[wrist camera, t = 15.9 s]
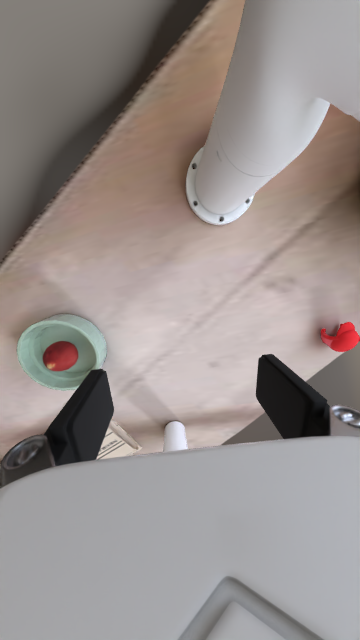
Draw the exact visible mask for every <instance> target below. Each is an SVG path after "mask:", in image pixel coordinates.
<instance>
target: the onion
mask: <svg viewBox="0 0 360 640" xmlns="http://www.w3.org/2000/svg"><path fill="white" fill-rule="evenodd" d="M77 360H78V350H77V348H76V346H75V345H74V344H72V343H70V342H67V341H58V342H55V343H53V344H51V345H50V346H48V347H47V348H46V350H45V352H44V354H43V363H44V365H45V366H46V368H48V369H49V370H52V371H64V370H68V369H69V368H71V367H72V366H73V365H75V363H76V362H77Z"/></svg>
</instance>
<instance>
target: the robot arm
mask: <svg viewBox="0 0 360 640" xmlns="http://www.w3.org/2000/svg"><path fill="white" fill-rule="evenodd" d="M330 103H331V104H333V105H334V106H336V107H337V108H338V109H340V110H341V111H342V112H344V113H345V114H347V115H351V116H353V117H354V118H356V119H357V120H358V121H360V0H245V4H244V9H243V14H242V18H241V23H240V27H239V32H238V36H237V39H236V43H235V47H234V51H233V55H232V58H231V62H230V65H229V69H228V72H227V75H226V79H225V82H224V85H223V89H222V92H221V95H220V99H219V102H218V105H217V108H216V112H215V115H214V117H213V121H212V125H211V128H210V131H209V134H208V138H207V141H206V144H205V146H204V147H202V148H201V149H200V150H199V151H198V152H197V153H196V155H195V156H194V158H193V159H192V161H191V163H190V166H189V168H188V172H187V176H186V194H187V199H188V202H189V204H190V207H191V208H192V210H193V211H194V213H195V214H196V215H197V216H198V217H199V218H200V219H202V220H203V221H205V222H207V223H209V224H213V225H224V224H228V223H230V222H233V221H234V220H236V219H238V218H239V217H240V216H241V215H242V214H243V213H244V212H245V211H246V210H247V209H248V207H249V206H250V204H251V202H252V200H253V197H254V194H255V192H256V191H258V190H259V189H260V188H261V187H262V186H264V185H265V184H266V183H267V182H268V181H269V180H271V179H272V178H273V177H274V176H275V175H277V174H278V173H279V172H280V171H281V170H282V169H284V168H285V167H286V166H287V165H288V164H289V163H291V162H292V161H293V160H294V159H295V158H296V157H297V156H298V155H299V154H300V153H301V152H302V151H303V150H304V149H305V148H306V147H307V145H308V144H309V143H310V142H311V140H312V139H313V137H314V136H315V134H316V132H317V131H318V129H319V127H320V125H321V123H322V121H323V119H324V117H325V115H326V113H327V110H328V108H329V105H330ZM193 167H194V168H195V169H193ZM245 201H246V202H247V203H245ZM194 203H195V204H196V206H194V205H193V204H194ZM219 219H221V222H220V221H219ZM256 397H257V400H258V401H259V403H260V404H261V406H262V407H263V409H264V410H265V412H266V413H267V415H268V416H269V417H270V419H271V421H272V422H273V424H274V425H275V427H276V428H277V430H278V431H279V433H280V434H281V436H282V437H283V439H280V440H271V441H261V442H251V443H241V444H231V445H222V446H213V447H203V448H194V449H185V450H176V451H167V452H158V453H149V454H141V455H132V456H123V457H115V458H107V459H99V460H96V459H97V456H98V454H99V451H100V448H101V445H102V443H103V440H104V437H105V435H106V432H107V429H108V427H109V424H110V421H111V418H112V416H113V412H114V407H113V402H112V397H111V392H110V387H109V383H108V378H107V373H106V371H103V369H94V370H91V371H90V372H89V374H88V375H87V376H86V378H85V379H84V380H83V382H82V383H81V384H80V386H79V387H78V388H77V390H76V391H75V392H74V394H73V395H72V397H71V398H70V399H69V401H68V402H67V403H66V405H65V406H64V407H63V409H62V410H61V411H60V413H59V414H58V415H57V417H56V418H55V420H54V421H53V422H52V424H51V425H50V426H49V428H48V429H47V431H46V432H45V433H44V435H35V436H31V437H29V438H26V439H24V440H23V441H21V442H19V443H18V444H16V445H15V446H14V447H13V448H11V449H10V450H9V451H8V453H7V454H6V455H5V456H4V458H3V459H2V461H1V465H0V640H360V411H359V410H357V409H355V408H352V407H349V406H345V405H333V406H331V407H330V406H329V405H328V404H327V400H326V399H325V398H324V397H323V396H321V395H320V394H319V393H318V392H316V391H315V390H314V389H313V388H312V387H311V386H310V385H308V384H307V383H306V382H305V381H304V380H303V379H301V378H300V377H299V376H298V375H297V374H295V373H294V372H293V371H292V370H291V369H289V368H288V367H287V366H286V365H285V364H284V363H282V362H281V361H280V360H279V359H278V358H276V357H275V356H274V355H273V354H268V355H262V356H261V357H260V358H259V362H258V374H257V387H256Z"/></svg>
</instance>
